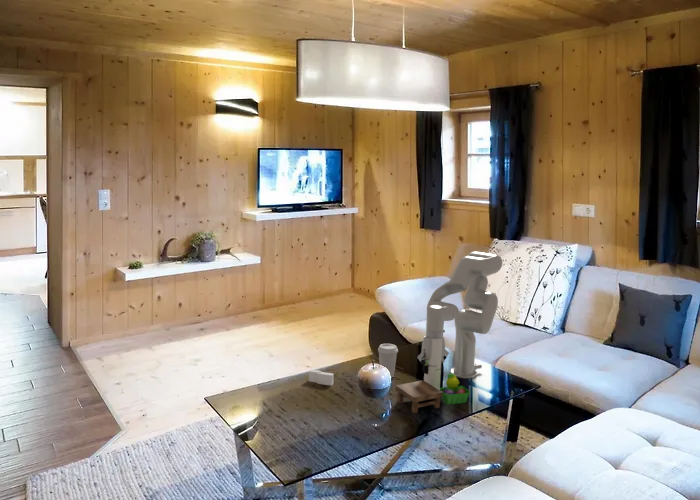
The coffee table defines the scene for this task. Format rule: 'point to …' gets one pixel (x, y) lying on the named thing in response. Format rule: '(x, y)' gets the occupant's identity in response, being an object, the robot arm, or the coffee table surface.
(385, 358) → the coffee cup
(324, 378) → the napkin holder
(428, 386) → the stool
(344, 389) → the coffee table surface
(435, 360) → the cylindrical container
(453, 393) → the fruit basket
